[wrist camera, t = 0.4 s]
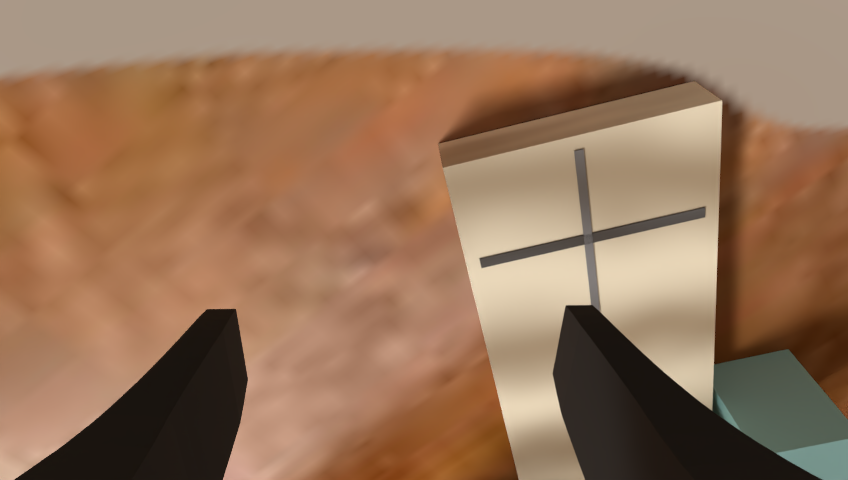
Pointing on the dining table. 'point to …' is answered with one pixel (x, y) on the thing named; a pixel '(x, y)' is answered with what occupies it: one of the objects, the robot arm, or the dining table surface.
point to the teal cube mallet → (783, 411)
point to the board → (591, 247)
